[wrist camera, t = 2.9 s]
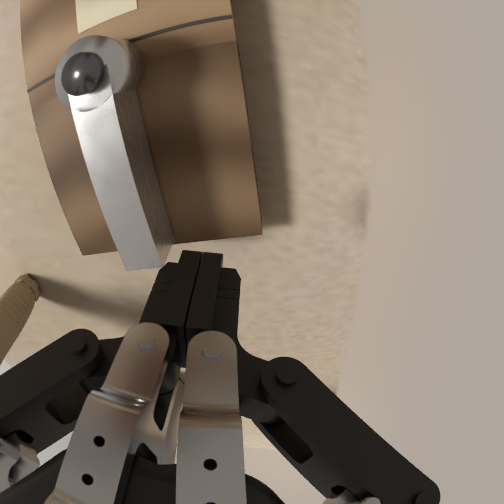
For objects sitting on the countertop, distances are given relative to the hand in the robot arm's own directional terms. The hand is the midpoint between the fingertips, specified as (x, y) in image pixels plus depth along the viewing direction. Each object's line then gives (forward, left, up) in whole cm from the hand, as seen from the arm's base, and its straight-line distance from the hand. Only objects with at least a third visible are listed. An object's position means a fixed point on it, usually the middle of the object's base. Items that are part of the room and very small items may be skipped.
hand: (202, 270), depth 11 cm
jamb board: (+9, +5, -9) cm, 14 cm away
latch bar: (+4, +5, -7) cm, 10 cm away
